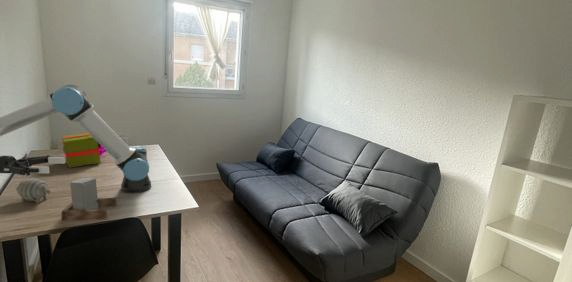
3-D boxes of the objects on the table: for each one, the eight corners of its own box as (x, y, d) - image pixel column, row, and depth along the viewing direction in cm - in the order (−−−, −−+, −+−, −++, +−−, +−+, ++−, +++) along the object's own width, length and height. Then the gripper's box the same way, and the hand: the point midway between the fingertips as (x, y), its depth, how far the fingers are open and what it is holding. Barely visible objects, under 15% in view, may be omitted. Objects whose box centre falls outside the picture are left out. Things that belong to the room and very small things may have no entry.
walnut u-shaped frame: (62, 220, 139) (61, 211, 138) (77, 206, 153) (76, 198, 152) (106, 219, 142) (105, 210, 141) (116, 205, 156) (116, 197, 155)
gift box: (68, 173, 202) (112, 165, 217) (63, 143, 194) (109, 137, 209) (64, 159, 217) (106, 152, 231) (59, 131, 208) (102, 125, 223)
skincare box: (85, 217, 142) (82, 184, 139) (71, 215, 143) (68, 182, 140) (100, 209, 150) (97, 177, 147) (86, 207, 152) (84, 175, 148)
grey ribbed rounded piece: (27, 195, 161) (25, 174, 158) (60, 198, 160) (58, 176, 157) (8, 204, 150) (5, 181, 148) (43, 206, 150) (40, 184, 147)
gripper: (20, 164, 149) (71, 164, 153) (-20, 183, 125) (42, 183, 129) (18, 148, 147) (69, 149, 151) (-23, 164, 123) (40, 165, 127)
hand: (57, 165), depth 140 cm, fingers open, 13 cm apart
